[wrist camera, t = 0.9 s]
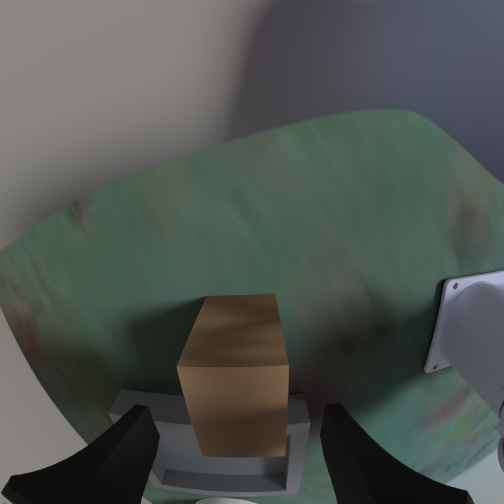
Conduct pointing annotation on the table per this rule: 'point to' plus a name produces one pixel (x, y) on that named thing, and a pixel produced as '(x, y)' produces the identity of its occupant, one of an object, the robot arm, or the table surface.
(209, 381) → the walnut block
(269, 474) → the tray
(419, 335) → the table surface
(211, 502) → the cylinder with rectangular tab
